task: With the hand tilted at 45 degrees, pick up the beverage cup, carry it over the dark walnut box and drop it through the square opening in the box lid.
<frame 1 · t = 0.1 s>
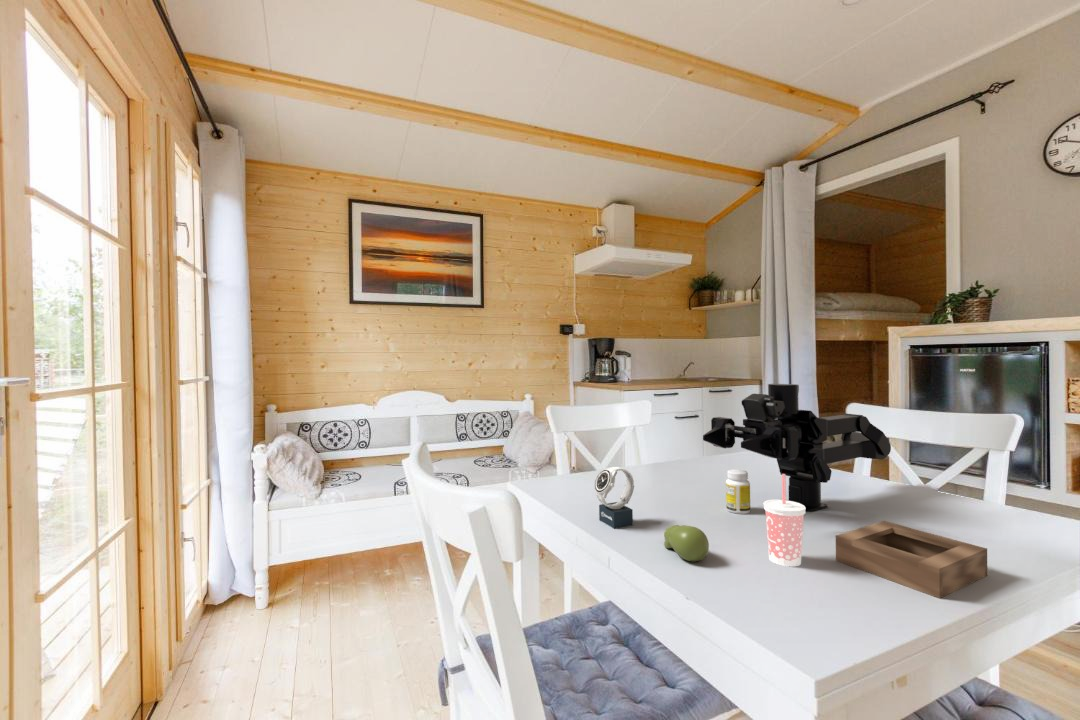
hand: (721, 441, 94), 17 cm above the table, tool horizontal, fingers open, 9 cm apart
walnut box: (908, 567, 75), on the table
pear: (684, 555, 82), on the table
supplement bottle: (738, 511, 103), on the table
watch: (615, 523, 97), on the table
beverage cup: (784, 561, 78), on the table
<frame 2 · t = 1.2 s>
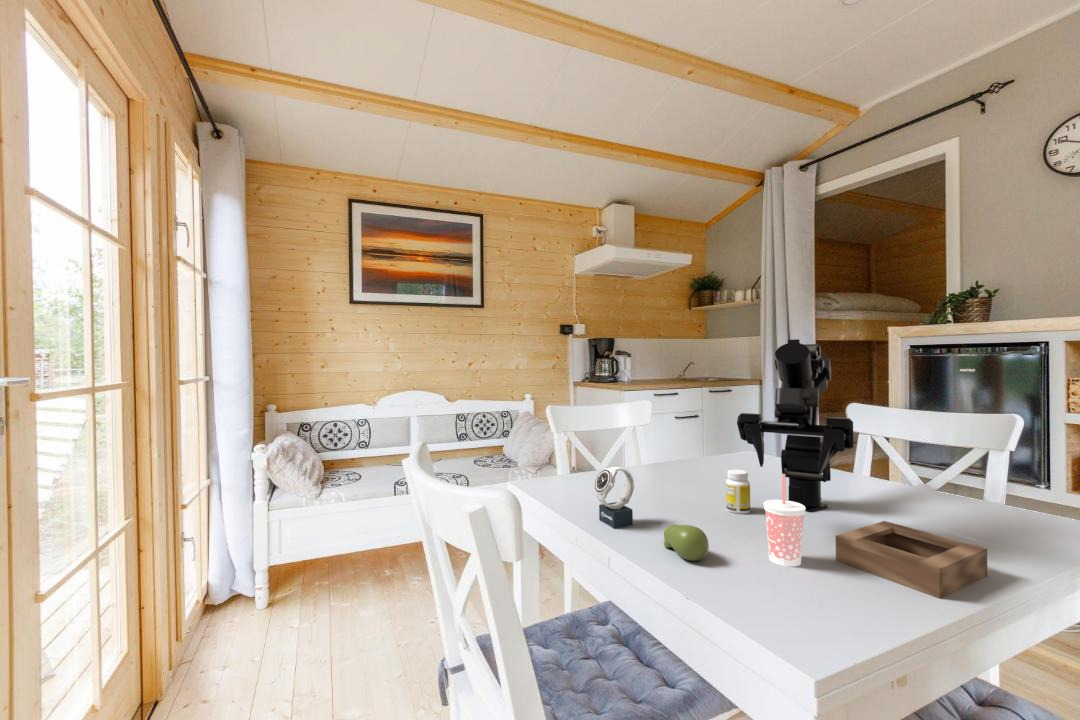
hand: (789, 468, 85), 13 cm above the table, tool tilted 45°, fingers open, 9 cm apart
nothing on the table moved.
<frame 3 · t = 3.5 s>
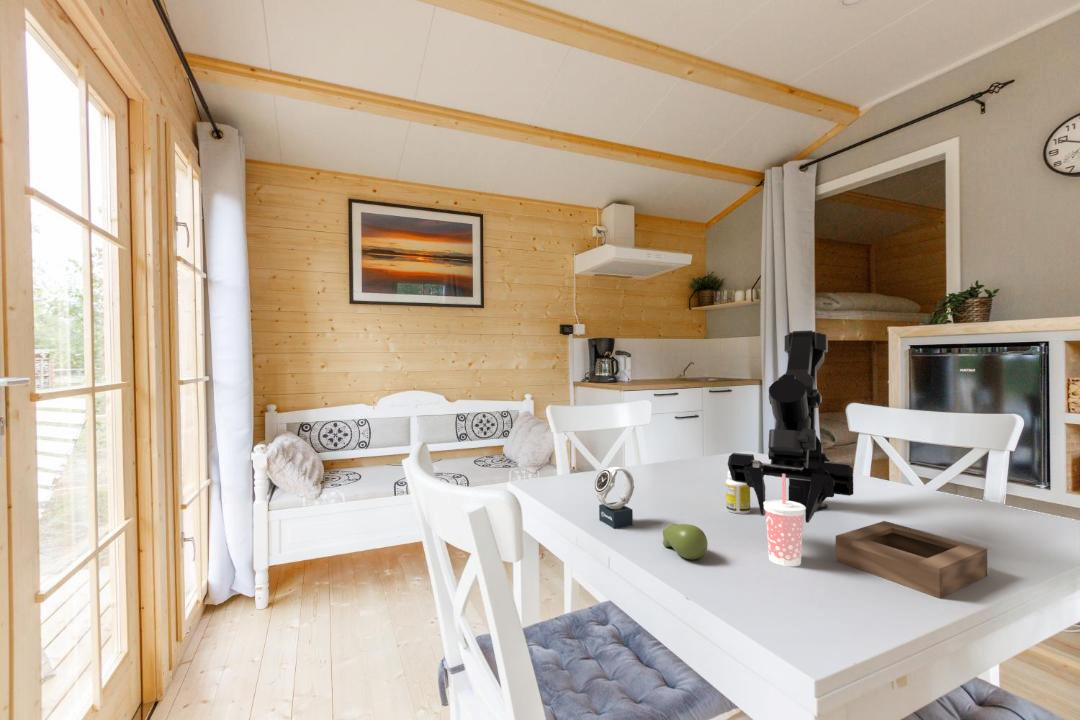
hand: (784, 517, 78), 7 cm above the table, tool tilted 45°, fingers closed on beverage cup, 6 cm apart
beverage cup: (784, 561, 78), on the table, touching gripper
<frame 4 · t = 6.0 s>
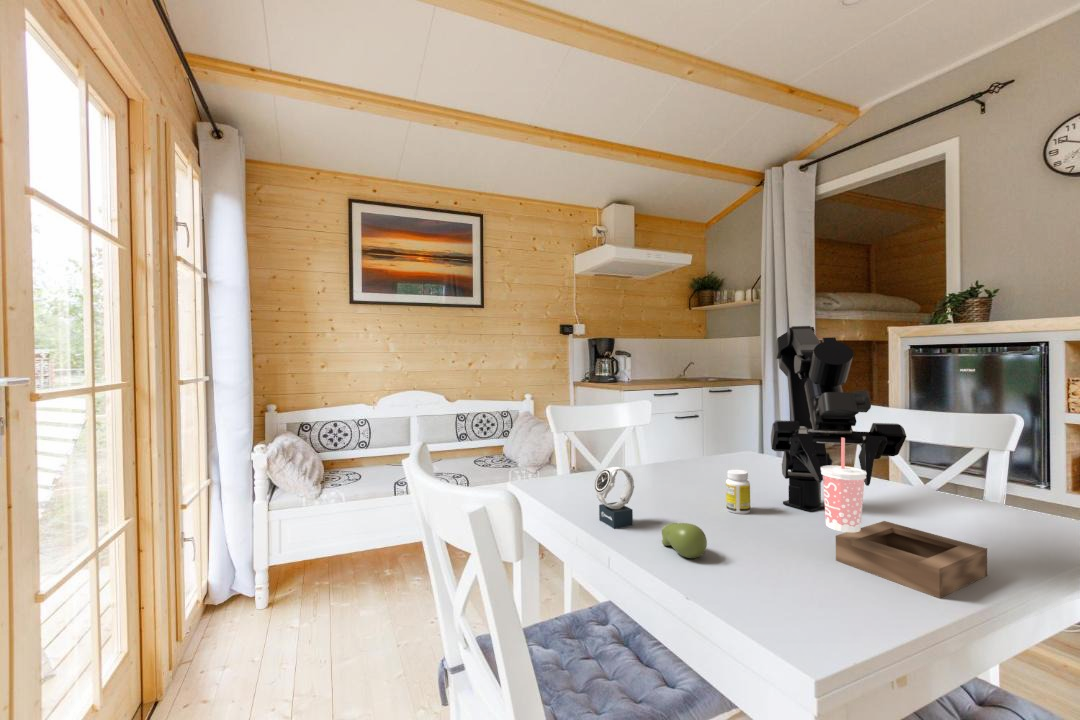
hand: (843, 482, 75), 13 cm above the table, tool tilted 45°, fingers closed on beverage cup, 6 cm apart
beverage cup: (842, 528, 76), point 6 cm above the table, touching gripper
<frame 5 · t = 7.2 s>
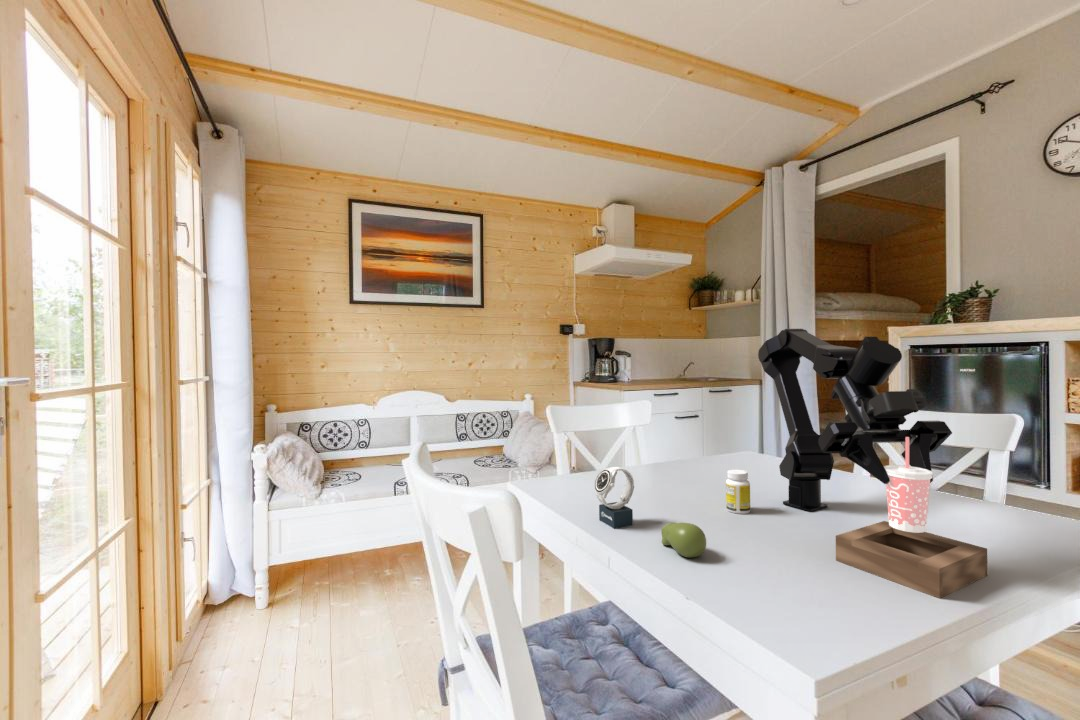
hand: (908, 482, 75), 13 cm above the table, tool tilted 45°, fingers closed on beverage cup, 6 cm apart
beverage cup: (907, 528, 75), point 6 cm above the table, touching gripper
when the fingers open (10 cm above the table, at t = 8.4 s): beverage cup drops 3 cm, resting in walnut box.
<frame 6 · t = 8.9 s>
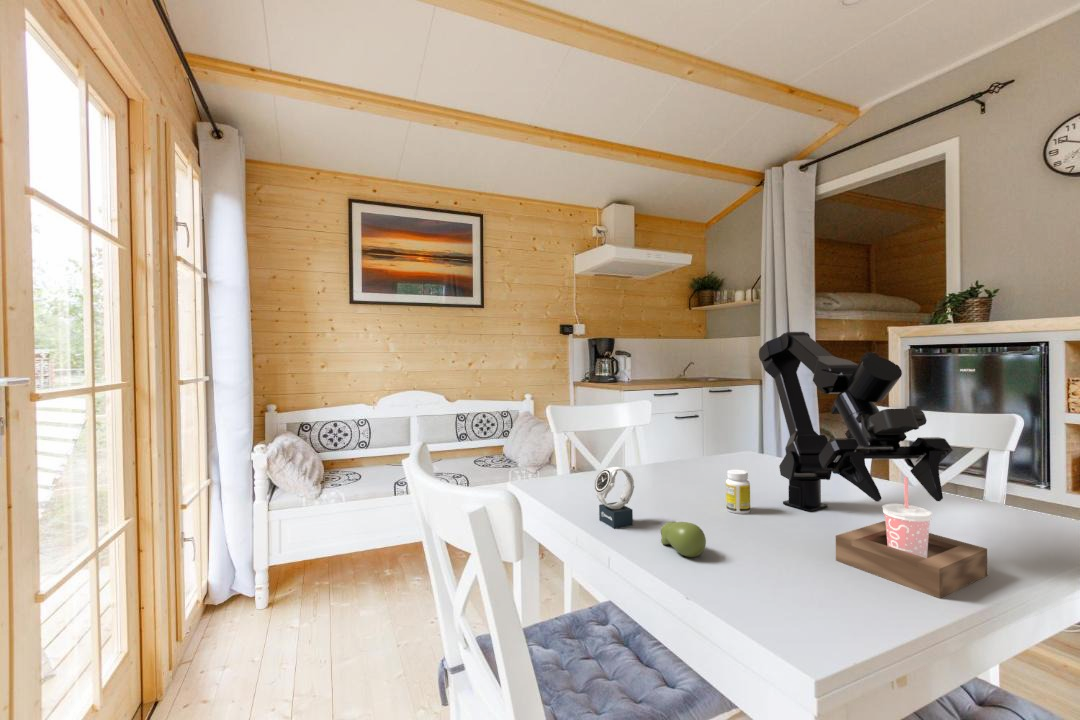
hand: (909, 500, 74), 11 cm above the table, tool tilted 45°, fingers open, 9 cm apart
beverage cup: (907, 568, 75), resting in walnut box
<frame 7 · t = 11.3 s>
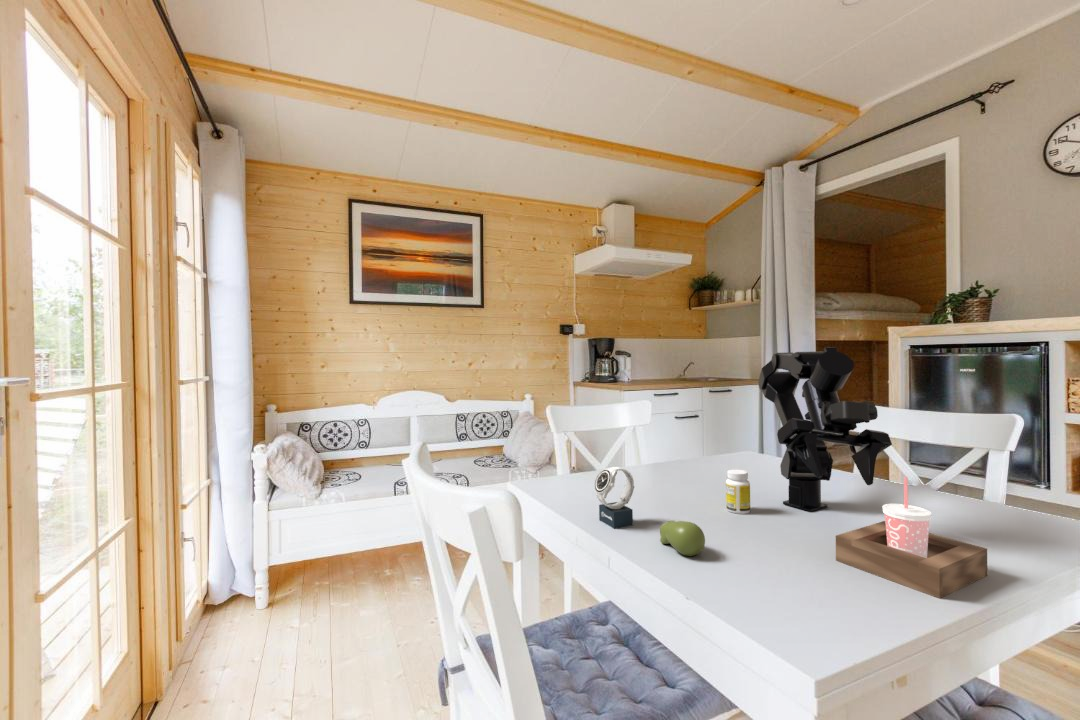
hand: (845, 480, 86), 11 cm above the table, tool tilted 35°, fingers open, 9 cm apart
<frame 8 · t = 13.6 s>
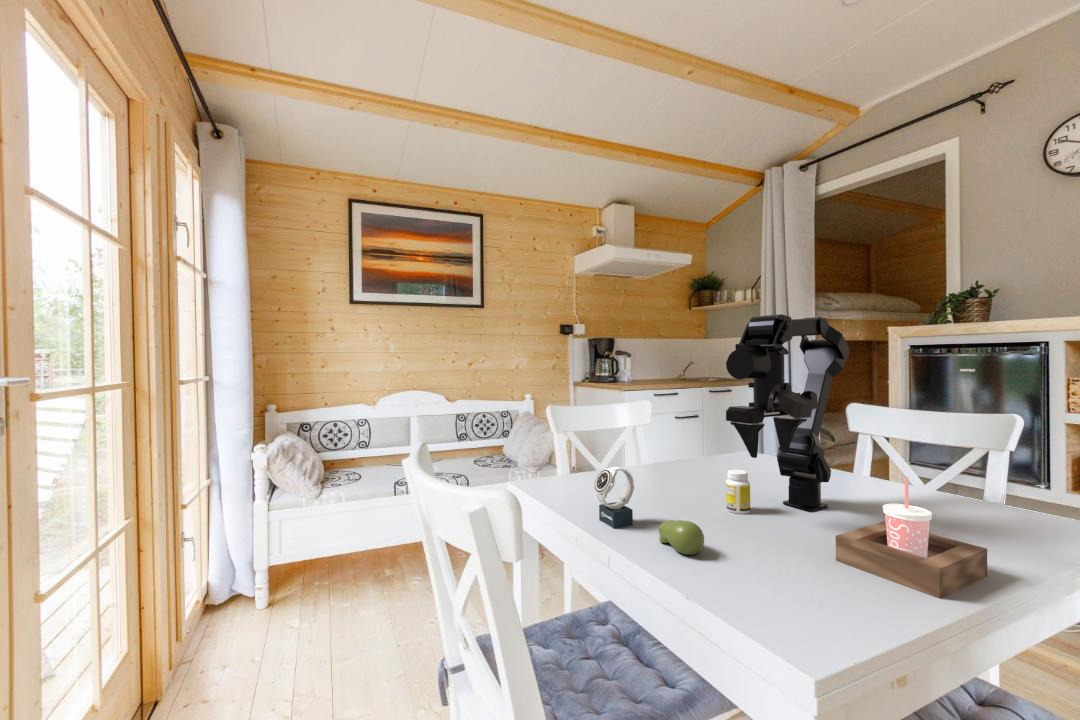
hand: (769, 455, 97), 13 cm above the table, tool pointing down, fingers open, 9 cm apart
at the end: beverage cup inside the target area on the walnut box (0.2 cm from its centre), point 0.0 cm above the walnut box's base; the gripper is holding nothing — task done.
